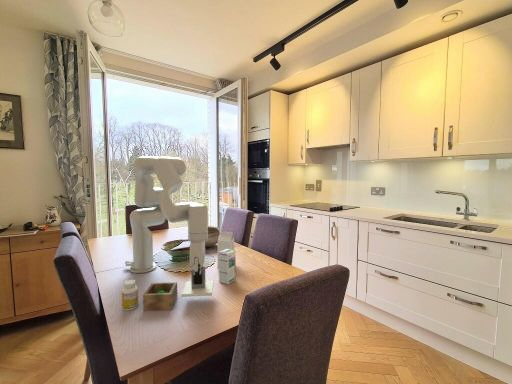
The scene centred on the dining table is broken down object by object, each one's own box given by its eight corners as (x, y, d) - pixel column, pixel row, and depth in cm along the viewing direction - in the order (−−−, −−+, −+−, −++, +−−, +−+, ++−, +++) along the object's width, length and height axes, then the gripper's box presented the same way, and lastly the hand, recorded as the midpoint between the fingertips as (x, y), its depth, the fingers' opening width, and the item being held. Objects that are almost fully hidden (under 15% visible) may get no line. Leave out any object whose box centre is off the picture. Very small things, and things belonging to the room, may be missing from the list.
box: (143, 311, 90) (142, 295, 89) (152, 297, 100) (151, 282, 99) (171, 309, 91) (171, 294, 90) (177, 296, 101) (177, 282, 100)
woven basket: (220, 241, 182) (220, 225, 181) (228, 248, 165) (228, 230, 164) (185, 245, 172) (185, 227, 171) (190, 253, 155) (190, 234, 154)
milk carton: (230, 269, 129) (230, 234, 128) (217, 268, 130) (217, 233, 129) (234, 264, 136) (234, 230, 134) (221, 263, 137) (221, 230, 136)
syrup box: (228, 284, 111) (228, 253, 110) (218, 281, 115) (218, 251, 113) (235, 280, 116) (236, 250, 115) (226, 277, 119) (226, 248, 118)
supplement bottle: (126, 303, 95) (125, 279, 94) (140, 303, 95) (140, 278, 94) (119, 311, 89) (118, 285, 89) (135, 310, 90) (134, 285, 89)
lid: (181, 296, 91) (181, 274, 90) (186, 283, 102) (186, 263, 101) (211, 295, 92) (211, 273, 91) (213, 282, 103) (213, 262, 102)
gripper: (191, 231, 103) (192, 273, 105) (184, 242, 87) (184, 292, 88) (209, 231, 104) (210, 273, 105) (205, 241, 88) (206, 291, 89)
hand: (198, 281), depth 97 cm, fingers closed on lid, 3 cm apart
